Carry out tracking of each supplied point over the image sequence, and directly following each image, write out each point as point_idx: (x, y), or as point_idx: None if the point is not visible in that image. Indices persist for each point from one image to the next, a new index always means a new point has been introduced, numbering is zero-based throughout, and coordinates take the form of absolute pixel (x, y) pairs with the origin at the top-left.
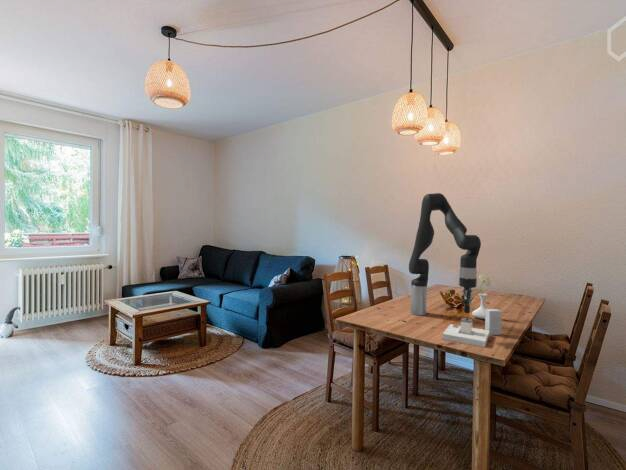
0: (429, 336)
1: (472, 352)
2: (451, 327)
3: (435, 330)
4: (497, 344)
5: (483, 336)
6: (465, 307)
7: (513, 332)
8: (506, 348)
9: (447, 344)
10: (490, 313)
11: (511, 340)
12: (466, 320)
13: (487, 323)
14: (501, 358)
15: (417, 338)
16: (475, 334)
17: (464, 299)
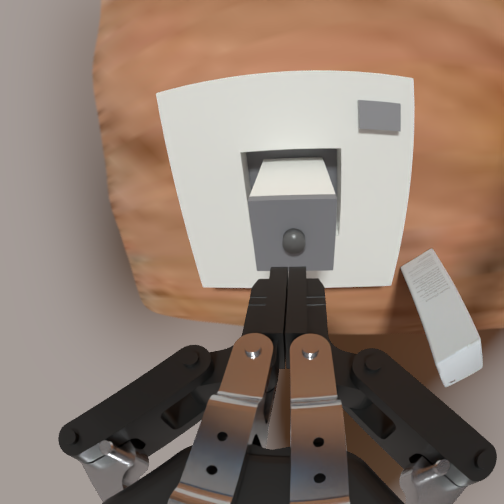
0: (164, 26)
1: (124, 242)
2: (337, 93)
3: (306, 5)
4: None
5: None
6: (247, 320)
7: None
8: None
9: (121, 142)
10: (432, 354)
11: (363, 328)
12: (270, 240)
13: (431, 292)
14: (154, 310)
15: (100, 17)
16: None
17: (113, 414)
